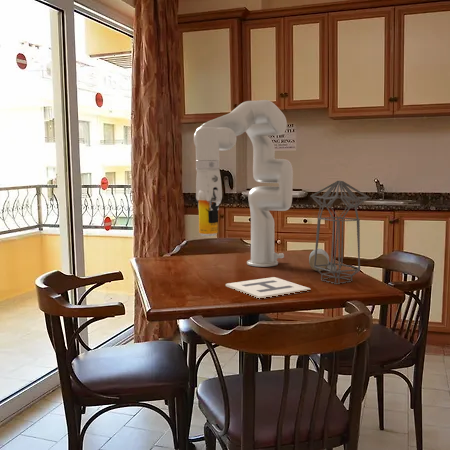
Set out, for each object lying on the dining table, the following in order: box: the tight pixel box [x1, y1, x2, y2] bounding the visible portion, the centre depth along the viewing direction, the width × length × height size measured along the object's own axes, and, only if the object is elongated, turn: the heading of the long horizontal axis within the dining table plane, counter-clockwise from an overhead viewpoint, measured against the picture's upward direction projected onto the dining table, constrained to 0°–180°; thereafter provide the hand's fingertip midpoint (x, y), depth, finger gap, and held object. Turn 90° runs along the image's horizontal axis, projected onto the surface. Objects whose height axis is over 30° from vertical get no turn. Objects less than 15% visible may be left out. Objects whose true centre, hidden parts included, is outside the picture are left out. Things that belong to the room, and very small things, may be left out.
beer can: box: [198, 190, 219, 237], centre depth 171 cm, size 6×6×15 cm
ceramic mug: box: [308, 248, 338, 272], centre depth 202 cm, size 11×8×8 cm
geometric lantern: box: [310, 180, 371, 285], centre depth 182 cm, size 16×16×35 cm
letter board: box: [225, 276, 311, 300], centre depth 173 cm, size 20×20×1 cm
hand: (208, 221), depth 171 cm, fingers closed on beer can, 6 cm apart
